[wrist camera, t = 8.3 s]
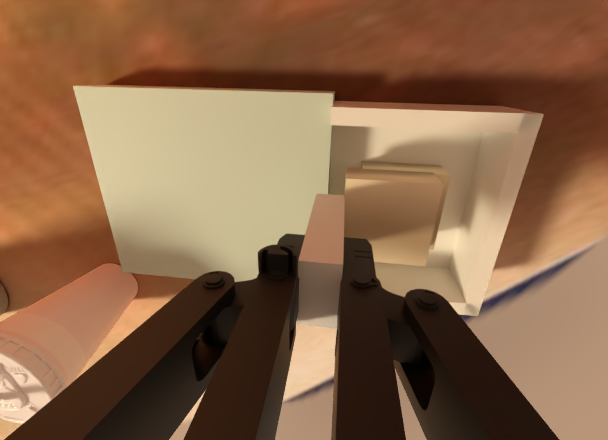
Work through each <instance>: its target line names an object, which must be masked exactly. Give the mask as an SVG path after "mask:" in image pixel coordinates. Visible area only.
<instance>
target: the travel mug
mask: <svg viewBox="0 0 608 440" xmlns="http://www.w3.org/2000/svg"><path fill="white" fill-rule="evenodd" d="M7 306H8V297H7V293H6V291H5V288H4V287H3V285H2V284H1V282H0V315H1V314H3V313H4V312H5V311H6V309H7Z"/></svg>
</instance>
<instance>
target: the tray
mask: <svg viewBox="0 0 608 440" xmlns="http://www.w3.org/2000/svg"><path fill="white" fill-rule="evenodd" d="M543 115H544V114H541V113H535V112H530V111H525V110H520V109H515V108H510V107H505V106H486V105H454V104H423V103H391V102H359V101H334V103H333V105H332V107H331V123H330V125H333V134H332V151H331V168H330V186H329V194H330V195H344V190H345V178H346V168H361V163H362V161H374V162H392V163H410V164H428V165H441V166H442V167H443V168H444V169H445V170H446V171H447V172H448V173H449V174H450V175H451V176H450V180H449V185H448V189H447V193H446V198H445V202H444V206H443V211H442V215H441V219H440V224H439V228H438V232H437V237H436V241H435V245H434V250H429V253H428V257H427V262H426V266H416V265H405V264H393V263H382V262H374V264H375V271H376V278H378V279H379V280H380V283H381V285H382V287H383V288H384V289H385V290H387V291H389V292H391V293H394V294H396V295H400V296H403V297H405V296H406V293H407V292H409V291H410V290H414V289H427V290H430V291H434V292H436V293H438V294H440V295H441V296H443V297H444V298H445V299H446V300H447V301H448V302H449V303H450V305H451V306H452V307H453V308H454V310H455V311H456V312H457V313H458V314H462V315H472V316H478V314H479V311H480V308H481V305H482V302H483V299H484V296H485V293H486V290H487V287H488V283H489V280H490V277H491V274H492V271H493V268H494V265H495V262H496V259H497V256H498V253H499V250H500V247H501V244H502V241H503V238H504V235H505V232H506V228H507V225H508V222H509V219H510V216H511V213H512V210H513V207H514V204H515V201H516V198H517V195H518V192H519V189H520V186H521V183H522V180H523V177H524V174H525V170H526V167H527V164H528V161H529V158H530V155H531V152H532V149H533V146H534V143H535V140H536V137H537V134H538V131H539V128H540V125H541V122H542V119H543Z"/></svg>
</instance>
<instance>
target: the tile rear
mask: <svg viewBox="0 0 608 440" xmlns="http://www.w3.org/2000/svg"><path fill="white" fill-rule="evenodd" d="M361 168H362V169H380V170H398V171H415V172H433V173H434V174H435V175H436V176H437V178H438V179H439V180H440V181H441V182H442V183H443V184H444V185H443V190H442V194H441V199H440V203H439V208H438V212H437V217H436V221H435V226H434V230H433V235H432V239H431V244H430V248H429V250H434V245H435V241H436V237H437V232H438V228H439V224H440V219H441V215H442V211H443V206H444V202H445V198H446V193H447V189H448V185H449V180H450V176H451V175H450V174H449V173H448V172H447V171H446V170H445V169H444V168H443V167H442V166H441V165H428V164H410V163H392V162H374V161H362V163H361Z"/></svg>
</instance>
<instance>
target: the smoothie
mask: <svg viewBox="0 0 608 440" xmlns="http://www.w3.org/2000/svg"><path fill="white" fill-rule="evenodd" d="M137 292H138V284H137V281H136V279H135V278H134V276H133V275H132V274H131V273H124V272H122V268H121V266H120V265H117V264H112V263H106V264H103V265H101V266H99V267H97V268H95V269H94V270H92V271H90V272H88V273H87V274H85V275H83V276H81V277H80V278H78V279H76V280H74V281H72V282H71V283H69V284H67V285H65V286H64V287H62V288H60V289H58V290H57V291H55V292H53V293H51V294H50V295H48V296H46V297H44V298H43V299H41V300H39V301H37V302H36V303H34V304H32V305H30V306H29V307H27V308H25V309H23V310H22V311H20V312H18V313H16V314H15V315H13V316H11V317H9V318H7V319H5V320H4V321H2V322H0V418H1V419H4V420H7V421H11V422H15V423H22V424H23V423H25V422H26V421H27V420H28V419H29V418H31V417H32V416H33V415H34V414H35V413H37V412H38V411H39V410H40V409H41V408H43V407H44V406H45V405H46V404H47V403H49V402H50V401H51V400H52V399H53V398H55V397H56V396H57V395H58V394H59V393H60V392H62V391H63V390H64V389H65V388H66V387H68V386H69V385H70V384H71V383H72V382H73V381H74V380H75V379H76V377H77V376H78V375H79V373H80V372H81V371H82V369H83V368H84V366H85V365H86V363H87V362H88V361H89V359H90V358H91V357H92V355H93V354H94V352H95V351H96V350H97V348H98V347H99V346H100V344H101V343H102V341H103V340H104V339H105V337H106V336H107V335H108V333H109V332H110V330H111V329H112V328H113V326H114V325H115V323H116V322H117V321H118V319H119V318H120V317H121V315H122V314H123V312H124V311H125V310H126V308H127V307H128V306H129V304H130V303H131V301H132V300H133V299H134V297H135V296H136V294H137Z"/></svg>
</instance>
